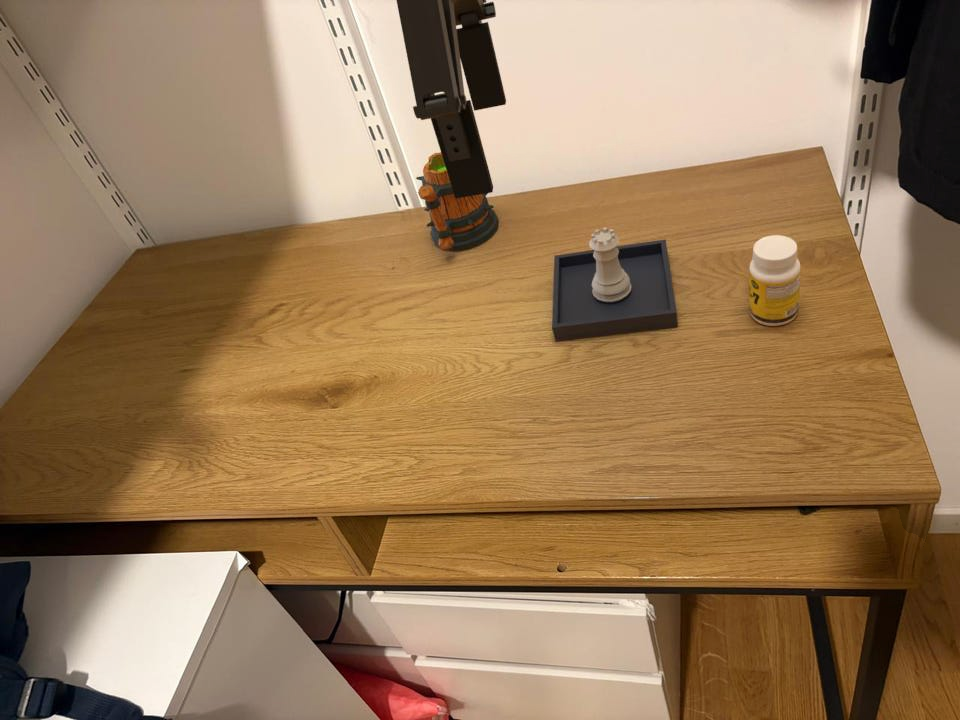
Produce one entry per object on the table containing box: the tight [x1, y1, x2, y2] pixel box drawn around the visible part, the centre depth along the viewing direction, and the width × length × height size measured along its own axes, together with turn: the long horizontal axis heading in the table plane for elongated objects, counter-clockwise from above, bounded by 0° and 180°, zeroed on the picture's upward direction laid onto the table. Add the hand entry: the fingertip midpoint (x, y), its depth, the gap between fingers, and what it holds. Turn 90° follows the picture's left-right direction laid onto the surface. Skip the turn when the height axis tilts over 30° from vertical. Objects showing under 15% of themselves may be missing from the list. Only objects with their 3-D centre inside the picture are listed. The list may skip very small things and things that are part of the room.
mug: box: [415, 151, 500, 252], centre depth 98 cm, size 13×10×12 cm
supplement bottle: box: [748, 234, 801, 327], centre depth 74 cm, size 5×5×8 cm
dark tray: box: [551, 239, 679, 342], centre depth 85 cm, size 13×13×2 cm
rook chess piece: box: [588, 227, 632, 303], centre depth 82 cm, size 4×4×8 cm
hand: (483, 146), depth 57 cm, fingers open, 13 cm apart
